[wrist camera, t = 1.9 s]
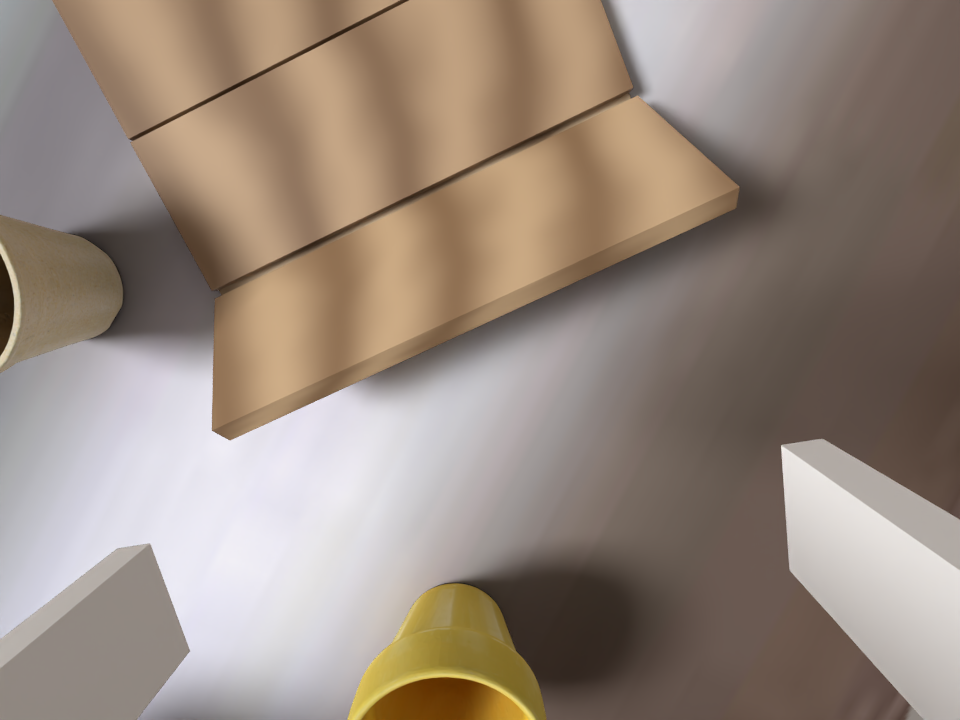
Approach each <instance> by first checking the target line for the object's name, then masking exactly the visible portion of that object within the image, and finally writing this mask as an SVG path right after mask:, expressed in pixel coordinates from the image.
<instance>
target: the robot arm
mask: <svg viewBox="0 0 960 720" xmlns="http://www.w3.org/2000/svg"><path fill="white" fill-rule="evenodd" d="M781 450H782V465H783V480H784V495H785V509H786V524H787V539H788V554H789V568H790V571H791V572H792V573H793V574H794V576H795V577H796V578H797V579H798V580H799V581H800V582H801V583H802V584H803V586H804V587H805V588H806V589H807V590H808V591H809V592H810V593H811V594H812V596H813V597H814V598H815V599H816V600H817V601H818V602H819V603H820V605H821V606H822V607H823V608H824V609H825V610H826V611H827V612H828V613H829V615H830V616H831V617H832V618H833V619H834V620H835V621H836V622H837V624H838V625H839V626H840V627H841V628H842V629H843V630H844V631H845V632H846V634H847V635H848V636H849V637H850V638H851V639H852V640H853V641H854V642H855V644H856V645H857V646H858V647H859V648H860V649H861V650H862V651H863V653H864V654H865V655H866V656H867V657H868V658H869V659H870V660H871V661H872V663H873V664H874V665H875V666H876V667H877V668H878V669H879V670H880V671H881V673H882V674H883V675H884V676H885V677H886V678H887V679H888V680H889V682H890V683H891V684H892V685H893V686H894V687H895V688H896V689H897V690H898V692H899V693H900V694H901V695H902V696H903V697H904V698H905V699H906V700H907V702H908V703H909V704H910V705H911V706H912V707H913V708H914V709H915V711H917V713H918V714H919V715H920V716H921V717H922V718H923V719H924V720H960V520H959V519H958V518H956V517H954V516H953V515H951V514H949V513H948V512H946V511H944V510H942V509H941V508H939V507H937V506H936V505H934V504H932V503H931V502H929V501H927V500H925V499H924V498H922V497H920V496H919V495H917V494H915V493H914V492H912V491H910V490H909V489H907V488H905V487H903V486H902V485H900V484H898V483H897V482H895V481H893V480H892V479H890V478H888V477H887V476H885V475H883V474H881V473H880V472H878V471H876V470H875V469H873V468H871V467H870V466H868V465H866V464H865V463H863V462H861V461H859V460H858V459H856V458H854V457H853V456H851V455H849V454H848V453H846V452H844V451H843V450H841V449H839V448H837V447H836V446H834V445H832V444H831V443H829V442H827V441H826V440H824V439H817V440H811V441H805V442H798V443H792V444H785V445H781ZM189 652H190V650H189V647H188V644H187V642H186V639H185V636H184V634H183V631H182V628H181V626H180V623H179V620H178V617H177V615H176V612H175V609H174V607H173V604H172V601H171V599H170V596H169V593H168V591H167V588H166V585H165V582H164V580H163V577H162V574H161V572H160V569H159V566H158V564H157V561H156V558H155V556H154V553H153V550H152V547H151V545H150V544H143V545H137V546H131V547H124V548H118V549H116V550H115V551H113V552H112V553H111V554H110V555H108V556H107V557H106V558H104V559H103V560H102V561H101V562H99V563H98V564H97V565H95V566H94V567H93V568H92V569H90V570H89V571H88V572H86V573H85V574H84V575H83V576H81V577H80V578H79V579H77V580H76V581H75V582H74V583H72V584H71V585H70V586H68V587H67V588H66V589H65V590H63V591H62V592H61V593H59V594H58V595H57V596H56V597H54V598H53V599H52V600H50V601H49V602H48V603H47V604H45V605H44V606H43V607H41V608H40V609H39V610H37V611H36V612H35V613H34V614H32V615H31V616H30V617H28V618H27V619H26V620H25V621H23V622H22V623H21V624H19V625H18V626H17V627H16V628H14V629H13V630H12V631H10V632H9V633H8V634H7V635H5V636H4V637H3V638H1V639H0V720H137V719H138V717H139V716H140V715H141V713H142V712H143V711H144V710H145V708H146V707H147V706H148V704H149V703H150V702H151V701H152V699H153V698H154V697H155V695H156V694H157V693H158V692H159V690H160V689H161V688H162V686H163V685H164V684H165V683H166V681H167V680H168V679H169V677H170V676H171V675H172V674H173V672H174V671H175V670H176V668H177V667H178V666H179V665H180V663H181V662H182V661H183V659H184V658H185V657H186V656H187V654H188V653H189Z"/></svg>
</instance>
